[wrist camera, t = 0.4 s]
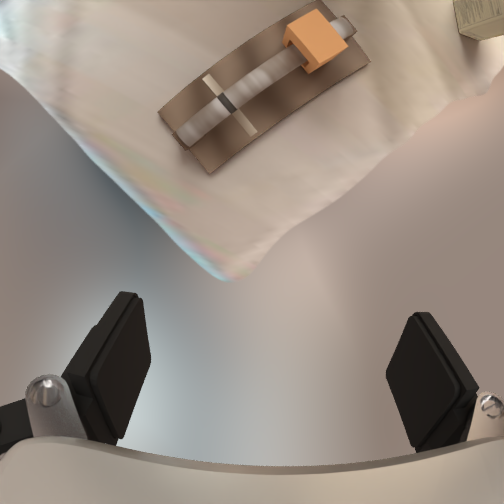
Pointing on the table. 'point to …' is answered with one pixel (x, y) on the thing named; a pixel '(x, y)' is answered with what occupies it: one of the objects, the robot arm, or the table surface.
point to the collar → (314, 39)
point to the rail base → (265, 99)
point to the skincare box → (480, 18)
